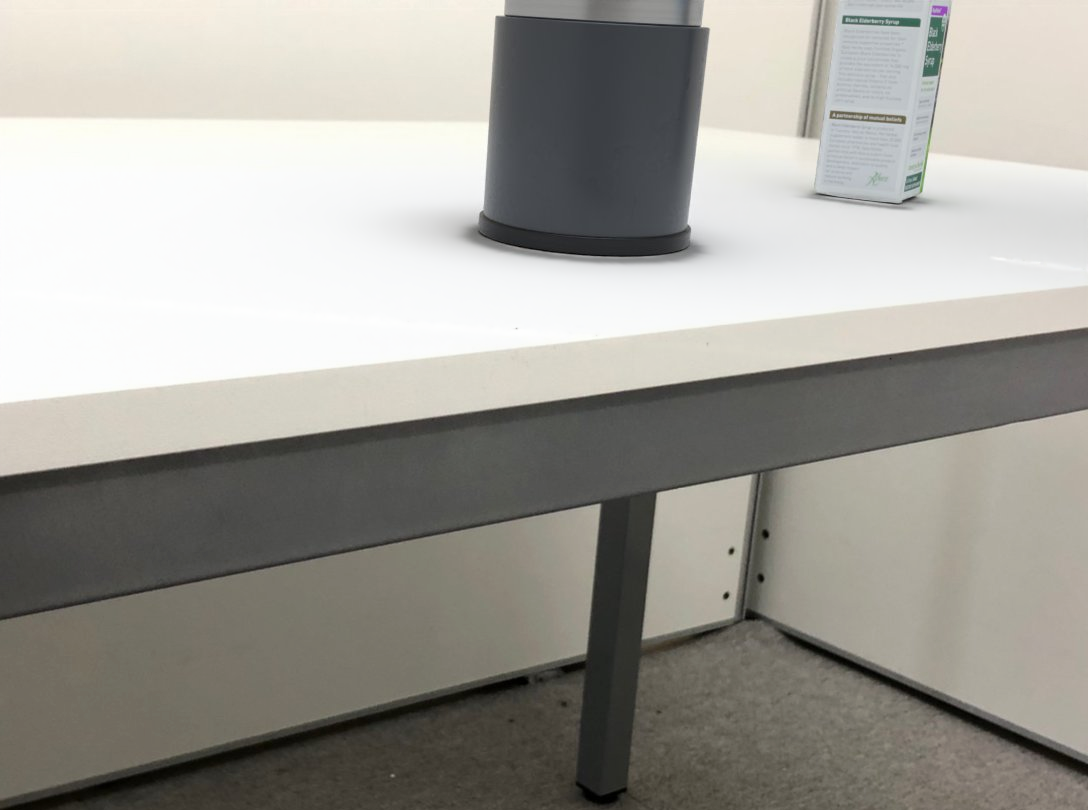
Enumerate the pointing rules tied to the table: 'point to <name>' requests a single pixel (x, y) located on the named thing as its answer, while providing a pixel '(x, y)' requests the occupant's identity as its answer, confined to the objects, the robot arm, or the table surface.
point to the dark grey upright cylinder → (594, 125)
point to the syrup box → (881, 98)
